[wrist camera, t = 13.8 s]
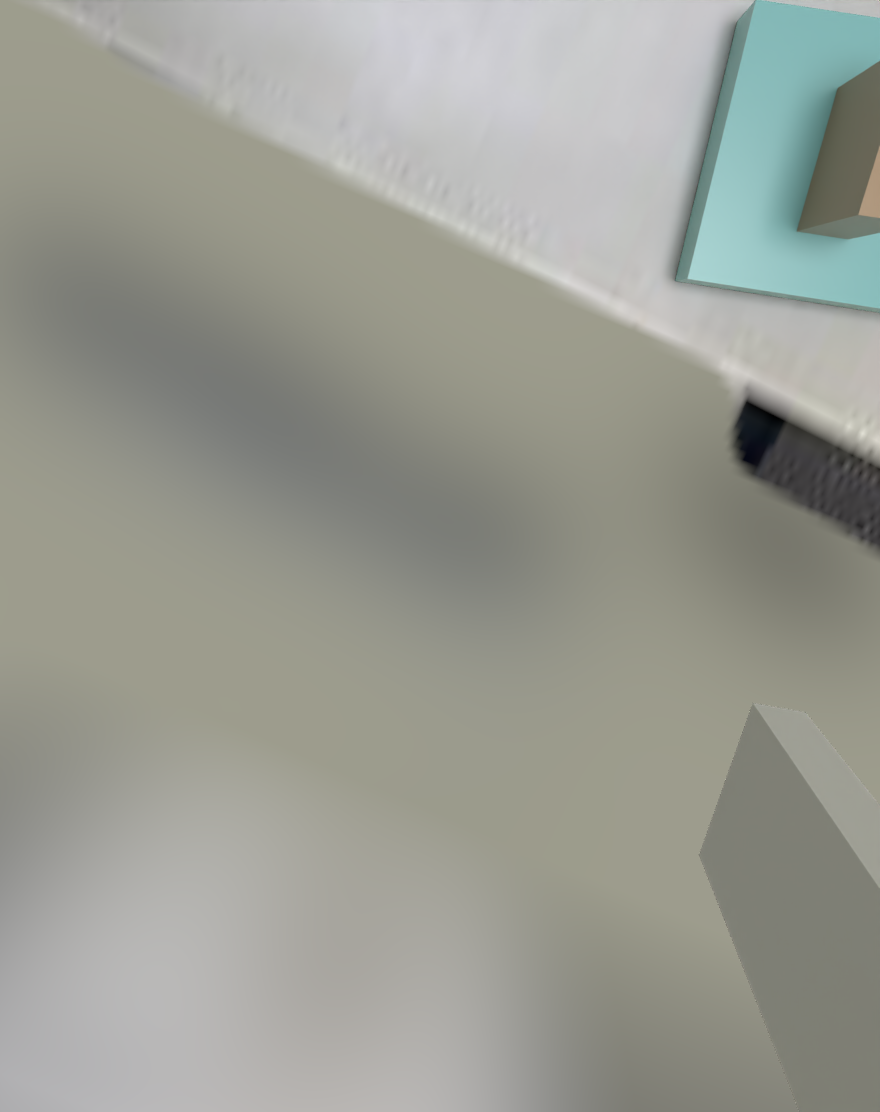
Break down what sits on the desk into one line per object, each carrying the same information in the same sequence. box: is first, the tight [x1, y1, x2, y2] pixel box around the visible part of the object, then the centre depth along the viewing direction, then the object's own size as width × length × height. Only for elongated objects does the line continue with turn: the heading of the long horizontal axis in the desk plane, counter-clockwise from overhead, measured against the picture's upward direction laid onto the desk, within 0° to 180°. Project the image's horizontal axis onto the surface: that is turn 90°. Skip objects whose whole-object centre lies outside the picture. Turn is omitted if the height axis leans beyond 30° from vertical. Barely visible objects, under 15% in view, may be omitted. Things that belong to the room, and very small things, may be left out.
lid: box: [675, 0, 880, 313], centre depth 31 cm, size 12×12×8 cm
